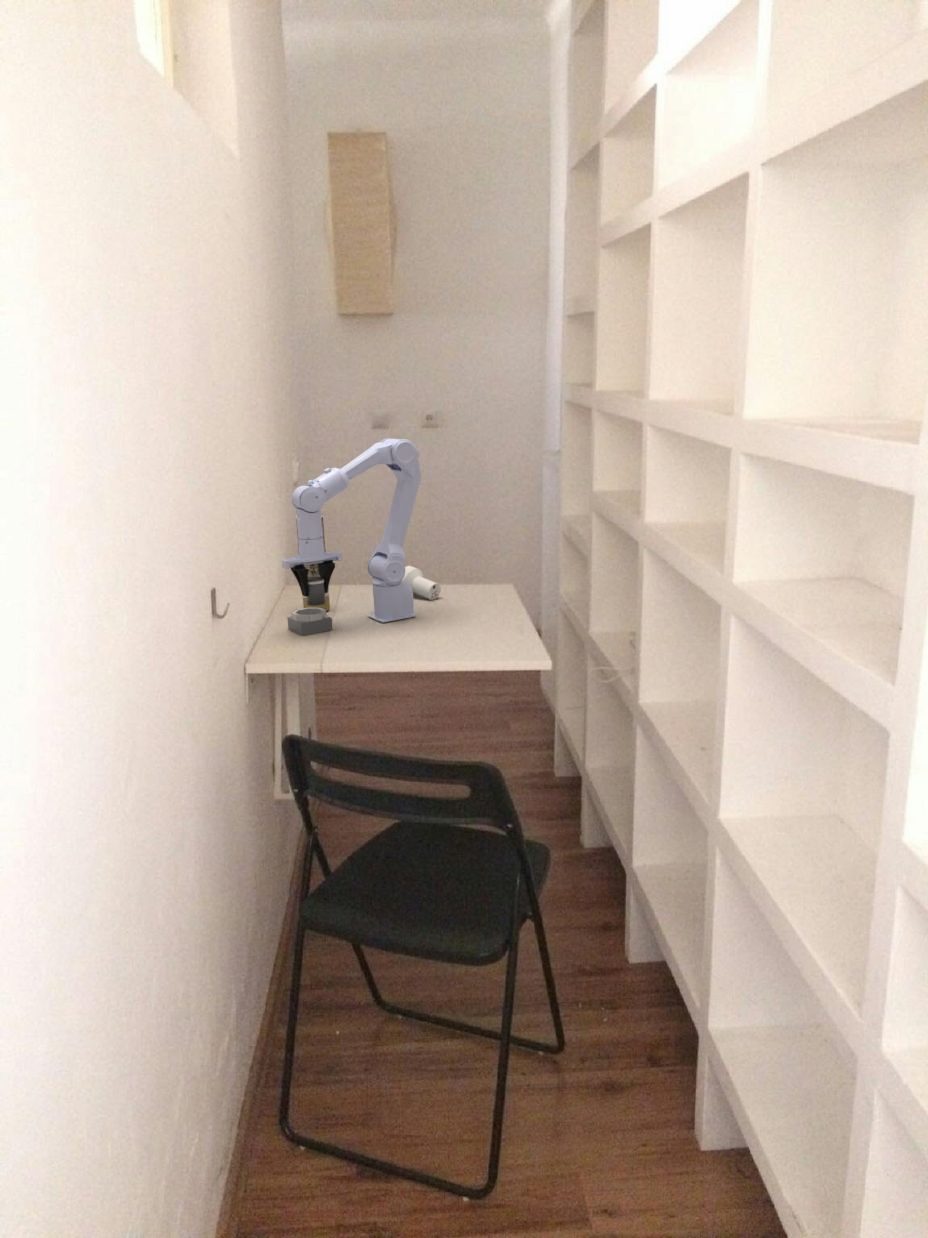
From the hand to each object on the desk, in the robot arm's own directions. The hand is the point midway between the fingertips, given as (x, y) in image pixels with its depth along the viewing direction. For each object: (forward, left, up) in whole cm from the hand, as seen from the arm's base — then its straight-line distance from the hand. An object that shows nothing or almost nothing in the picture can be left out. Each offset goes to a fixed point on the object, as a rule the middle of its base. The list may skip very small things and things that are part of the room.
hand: (315, 594), depth 230 cm
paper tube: (-8, -18, -9) cm, 22 cm away
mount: (+1, -2, -9) cm, 9 cm away
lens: (0, 0, -2) cm, 2 cm away
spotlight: (-36, -13, -9) cm, 39 cm away
